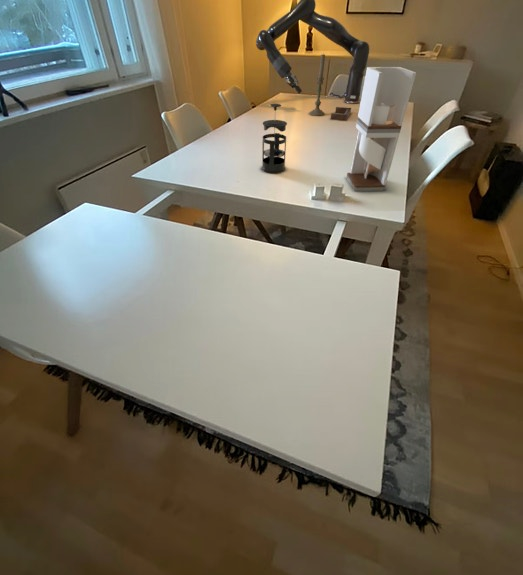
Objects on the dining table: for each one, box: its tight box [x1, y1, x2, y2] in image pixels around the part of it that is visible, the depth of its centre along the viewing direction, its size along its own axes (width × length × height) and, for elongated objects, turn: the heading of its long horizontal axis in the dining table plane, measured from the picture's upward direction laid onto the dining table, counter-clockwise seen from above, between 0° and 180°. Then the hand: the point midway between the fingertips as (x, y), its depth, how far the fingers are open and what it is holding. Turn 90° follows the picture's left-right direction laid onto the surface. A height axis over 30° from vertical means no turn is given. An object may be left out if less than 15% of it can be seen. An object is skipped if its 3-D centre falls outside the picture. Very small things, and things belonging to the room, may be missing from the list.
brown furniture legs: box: [330, 106, 352, 122], centre depth 188 cm, size 9×18×3 cm, turn 160°
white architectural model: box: [346, 66, 417, 192], centre depth 105 cm, size 11×11×35 cm
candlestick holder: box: [309, 52, 326, 117], centre depth 183 cm, size 9×9×30 cm
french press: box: [261, 103, 288, 174], centre depth 120 cm, size 12×9×23 cm
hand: (300, 92), depth 189 cm, fingers closed
